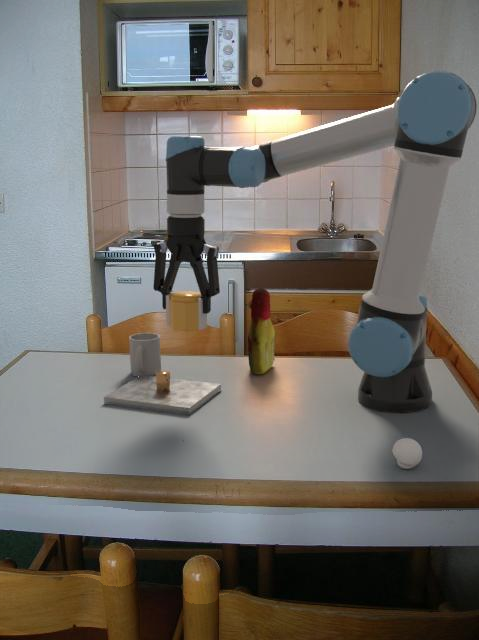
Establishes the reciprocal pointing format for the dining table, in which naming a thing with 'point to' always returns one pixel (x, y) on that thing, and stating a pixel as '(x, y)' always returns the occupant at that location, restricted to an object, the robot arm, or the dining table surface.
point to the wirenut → (184, 311)
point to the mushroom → (407, 453)
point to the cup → (145, 354)
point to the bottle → (261, 333)
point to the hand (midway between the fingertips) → (186, 326)
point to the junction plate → (163, 394)
